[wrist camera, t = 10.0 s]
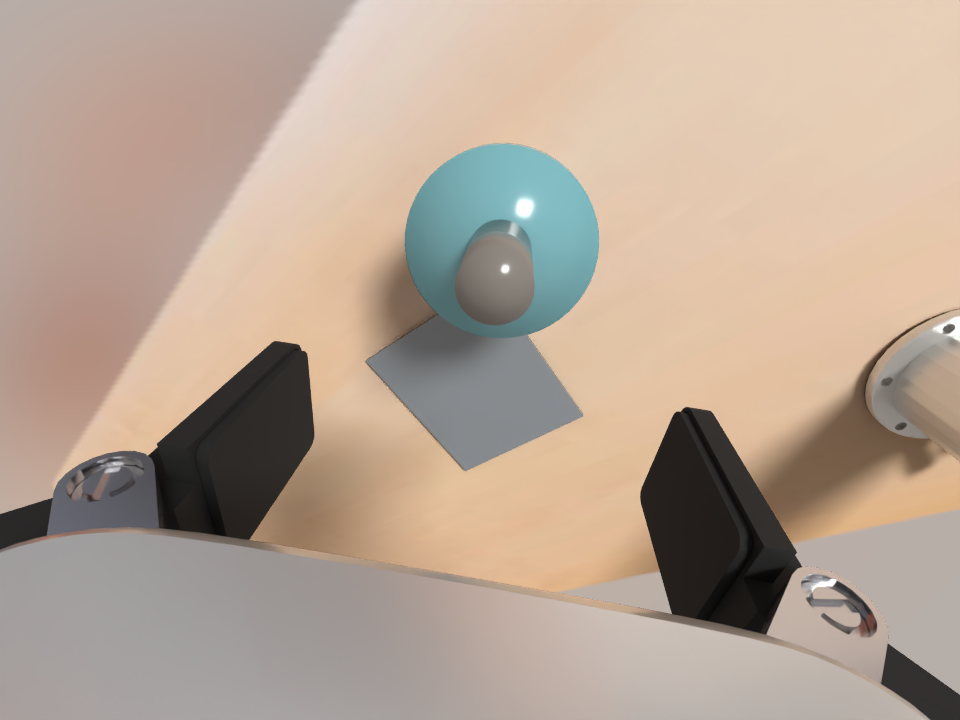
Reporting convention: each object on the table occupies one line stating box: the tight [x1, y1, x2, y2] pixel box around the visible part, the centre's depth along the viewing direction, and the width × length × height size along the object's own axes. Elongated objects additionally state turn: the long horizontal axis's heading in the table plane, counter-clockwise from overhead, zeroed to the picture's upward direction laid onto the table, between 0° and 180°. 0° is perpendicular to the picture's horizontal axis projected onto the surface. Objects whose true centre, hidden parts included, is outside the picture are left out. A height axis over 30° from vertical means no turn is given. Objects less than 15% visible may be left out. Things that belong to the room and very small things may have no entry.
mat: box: [366, 314, 583, 471], centre depth 41 cm, size 16×14×1 cm
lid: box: [405, 143, 599, 338], centre depth 23 cm, size 11×11×7 cm
